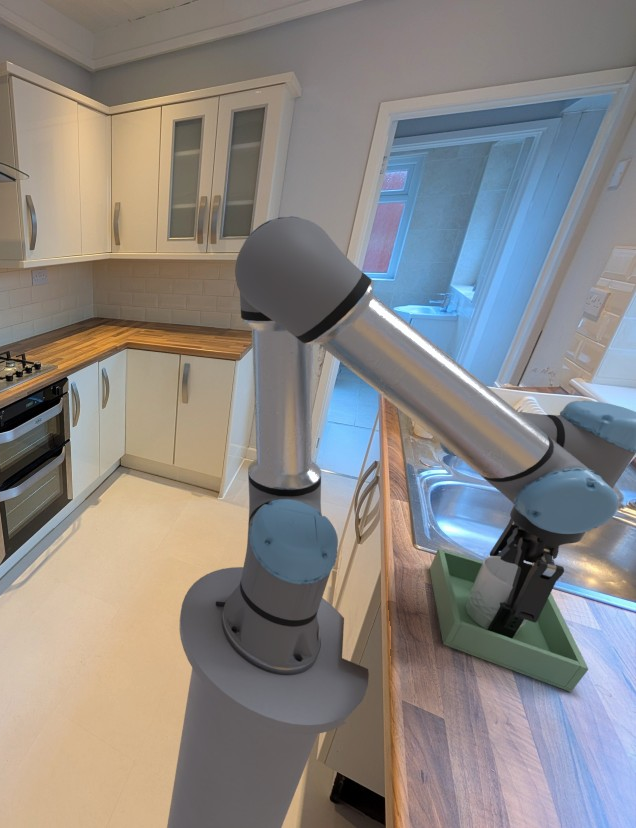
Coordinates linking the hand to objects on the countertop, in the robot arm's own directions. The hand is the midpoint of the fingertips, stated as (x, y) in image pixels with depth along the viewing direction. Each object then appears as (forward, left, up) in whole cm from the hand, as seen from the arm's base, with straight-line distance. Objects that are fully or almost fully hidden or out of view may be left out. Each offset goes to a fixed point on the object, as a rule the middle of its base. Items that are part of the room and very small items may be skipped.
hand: (491, 617), depth 71 cm
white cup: (0, 0, 0) cm, 0 cm away
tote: (0, 0, -1) cm, 1 cm away
